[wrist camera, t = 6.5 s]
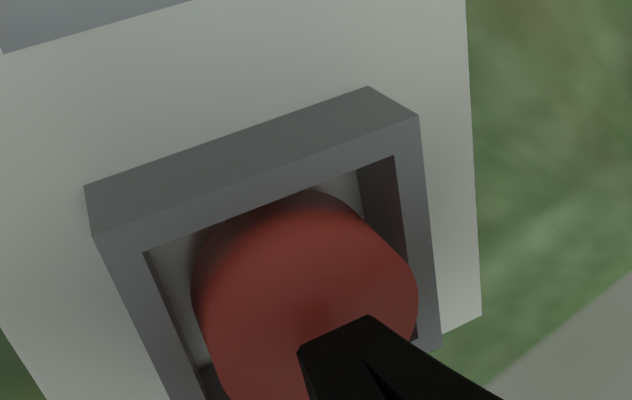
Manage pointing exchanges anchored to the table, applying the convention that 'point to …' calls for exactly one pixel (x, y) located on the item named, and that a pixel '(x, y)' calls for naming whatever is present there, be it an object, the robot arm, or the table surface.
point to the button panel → (215, 166)
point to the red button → (292, 289)
